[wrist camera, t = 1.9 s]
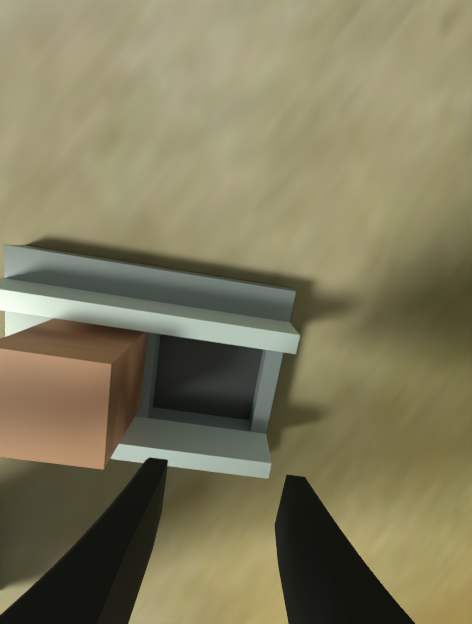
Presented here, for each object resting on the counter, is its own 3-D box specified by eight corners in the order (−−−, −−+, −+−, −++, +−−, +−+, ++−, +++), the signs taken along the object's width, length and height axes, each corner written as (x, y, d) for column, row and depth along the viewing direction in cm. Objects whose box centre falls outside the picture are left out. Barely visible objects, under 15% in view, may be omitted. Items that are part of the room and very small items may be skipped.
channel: (256, 454, 20) (262, 505, 16) (24, 424, 19) (-30, 470, 15) (290, 287, 17) (307, 299, 13) (24, 245, 16) (-41, 243, 12)
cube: (140, 406, 17) (103, 469, 12) (57, 395, 17) (-15, 455, 12) (147, 329, 16) (111, 364, 11) (59, 316, 16) (-18, 345, 11)
